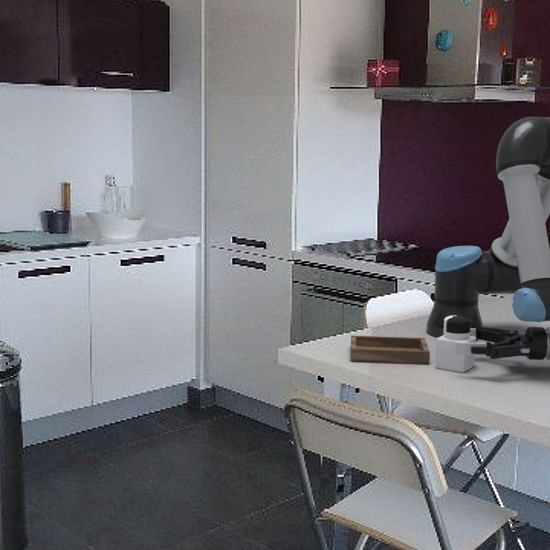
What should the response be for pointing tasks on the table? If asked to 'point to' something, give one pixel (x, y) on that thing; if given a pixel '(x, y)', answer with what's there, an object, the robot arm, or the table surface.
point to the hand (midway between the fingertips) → (451, 340)
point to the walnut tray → (389, 350)
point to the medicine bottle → (445, 345)
